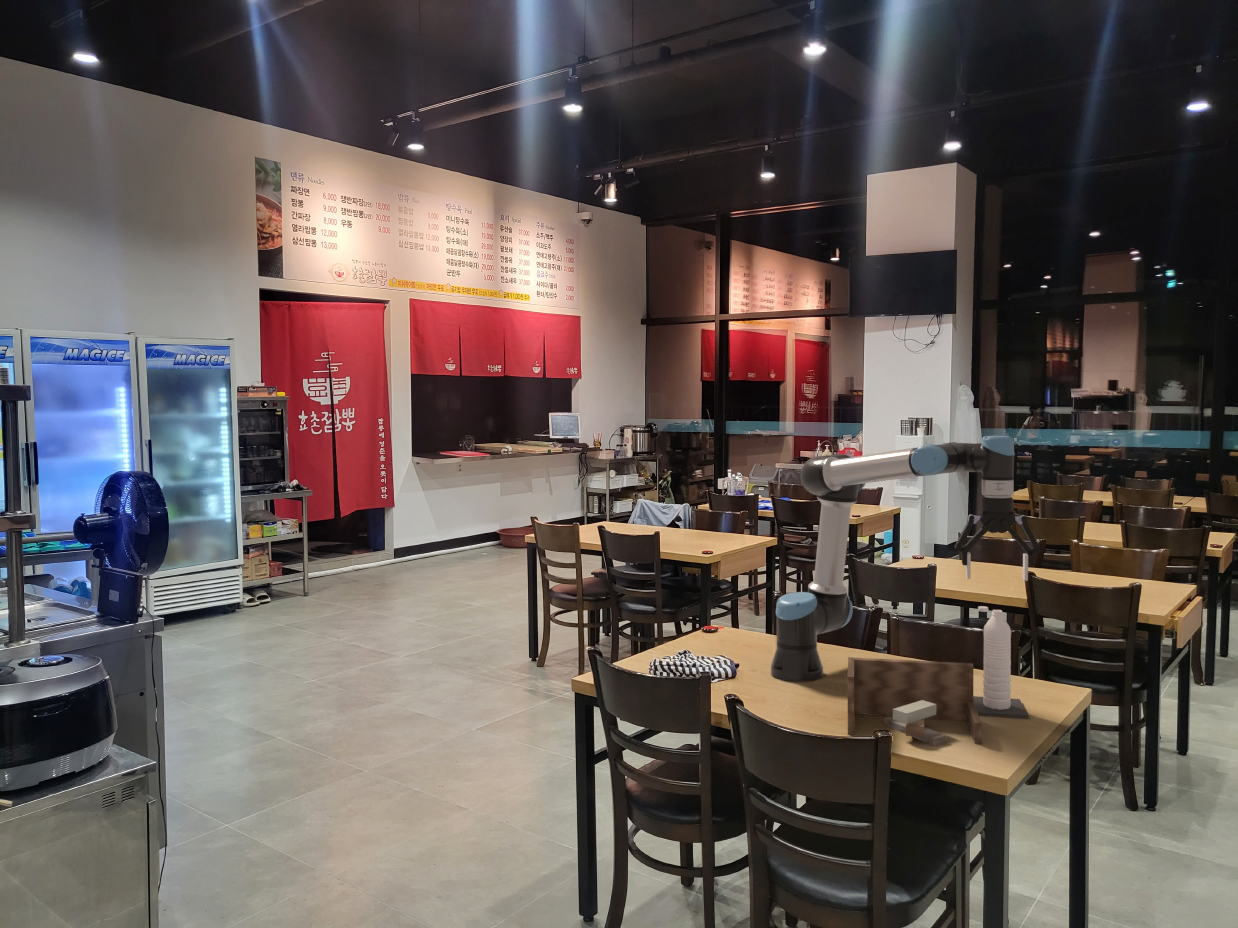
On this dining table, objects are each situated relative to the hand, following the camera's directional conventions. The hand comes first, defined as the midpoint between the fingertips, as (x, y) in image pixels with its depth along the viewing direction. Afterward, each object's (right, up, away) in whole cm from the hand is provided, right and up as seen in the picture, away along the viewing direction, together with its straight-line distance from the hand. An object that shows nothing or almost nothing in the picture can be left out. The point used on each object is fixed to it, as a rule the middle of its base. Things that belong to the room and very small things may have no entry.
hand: (996, 578), depth 230 cm
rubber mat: (+1, -34, +2) cm, 34 cm away
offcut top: (-26, -31, -16) cm, 43 cm away
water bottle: (0, -33, +2) cm, 33 cm away
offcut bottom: (-26, -36, -15) cm, 47 cm away
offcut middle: (-26, -33, -15) cm, 45 cm away
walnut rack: (-25, -35, -10) cm, 44 cm away
